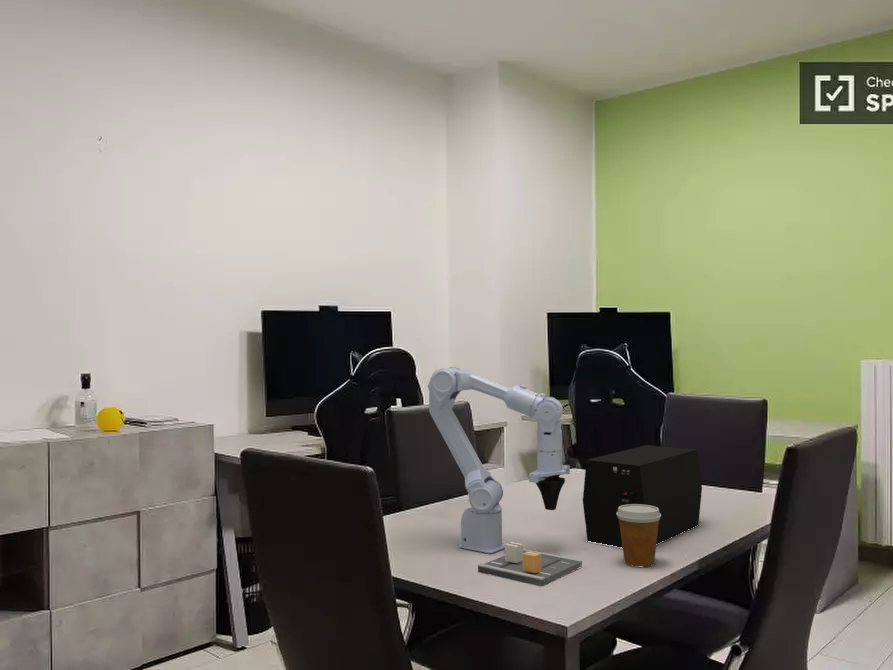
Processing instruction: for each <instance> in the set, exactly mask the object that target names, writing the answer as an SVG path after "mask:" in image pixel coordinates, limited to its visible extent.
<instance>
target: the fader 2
mask: <svg viewBox="0 0 893 670" xmlns="http://www.w3.org/2000/svg"><path fill="white" fill-rule="evenodd" d="M541 570H542V562H541V553H536V552H531V551H528V552H525V553H523V571H526V572H531V573H537V572H539V571H541Z"/></svg>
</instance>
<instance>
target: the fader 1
mask: <svg viewBox="0 0 893 670" xmlns="http://www.w3.org/2000/svg"><path fill="white" fill-rule="evenodd" d="M523 549H524V544H523V543H517V542H513V541H511V542H507V543H505V549H504V556H505V561H508V562H513V563H519V562H521V561H523Z"/></svg>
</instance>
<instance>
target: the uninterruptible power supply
mask: <svg viewBox="0 0 893 670" xmlns="http://www.w3.org/2000/svg"><path fill="white" fill-rule="evenodd" d="M699 462H700V461H699V454H698V448H697V449H696V448H679V447H670V446H656V445H649V444H645V445H642V446H637V447H634V448H630V449H624V450H621V451H618V452H614V453H609V454H606V455H602V456H601V455H600V456H596V457H593V458H589V459H586V460H585V469H584V470H585V471H584V484H583V494H582V506H583V514H584V522H585V531H586V540H587V542H588V541H591V542H596V543H602V544H607V545H613V546H617V547H622V548H623V546H622V539H621V532H620V525H619V518H618V516H617V515H616V513H617V512H618V507H619V506H622V505H628V504H643V505H651V506H655V507H657V508H658V509H659V512H660V514H661V517H660V520H659V524H658V533H657V542H656V544H658V543H660V542H662V541H665V540H667V539H669V538H671V537H673V536H675V537H677V536H679V535H681V534H680V533H682V532H684V531H686V530H688V529H690V530H692V529H694V528H696V527H695V526H697V525H698V526H699V523H700V513H701V501H702V494H703V493H702V492H703V484H702V477H701V470H700V469H701V468H700V463H699ZM698 526H697V527H698ZM693 527H694V528H693ZM691 528H692V529H691ZM688 531H689V530H688ZM686 532H687V531H686ZM684 533H685V532H684ZM678 534H679V535H678ZM682 534H683V533H682ZM676 535H677V536H676ZM673 538H674V537H673ZM671 539H672V538H671ZM669 540H670V539H669ZM667 541H668V540H667ZM665 542H666V541H665ZM662 543H663V542H662ZM660 544H661V543H660ZM658 545H659V544H658Z"/></svg>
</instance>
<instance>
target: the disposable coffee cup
mask: <svg viewBox="0 0 893 670" xmlns="http://www.w3.org/2000/svg"><path fill="white" fill-rule="evenodd" d="M616 515H617V516H618V518H619V525H620V532H621V539H622V546H623V549H622V553H623V561H624V564H625V563H627V564H629V565H628V566H630V565H633V566H632V567H634V566H650V567H652V566H651V565H653V564H654V565H655V559H656V549H657V545H656V542H657V533H658V524H659V520H660V517H661V514H660V512H659V509H658V508H657V507H655V506H651V505H643V504H628V505H622V506H619V507H618V512H617V513H616ZM627 564H626V565H627ZM654 565H653V566H654Z"/></svg>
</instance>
